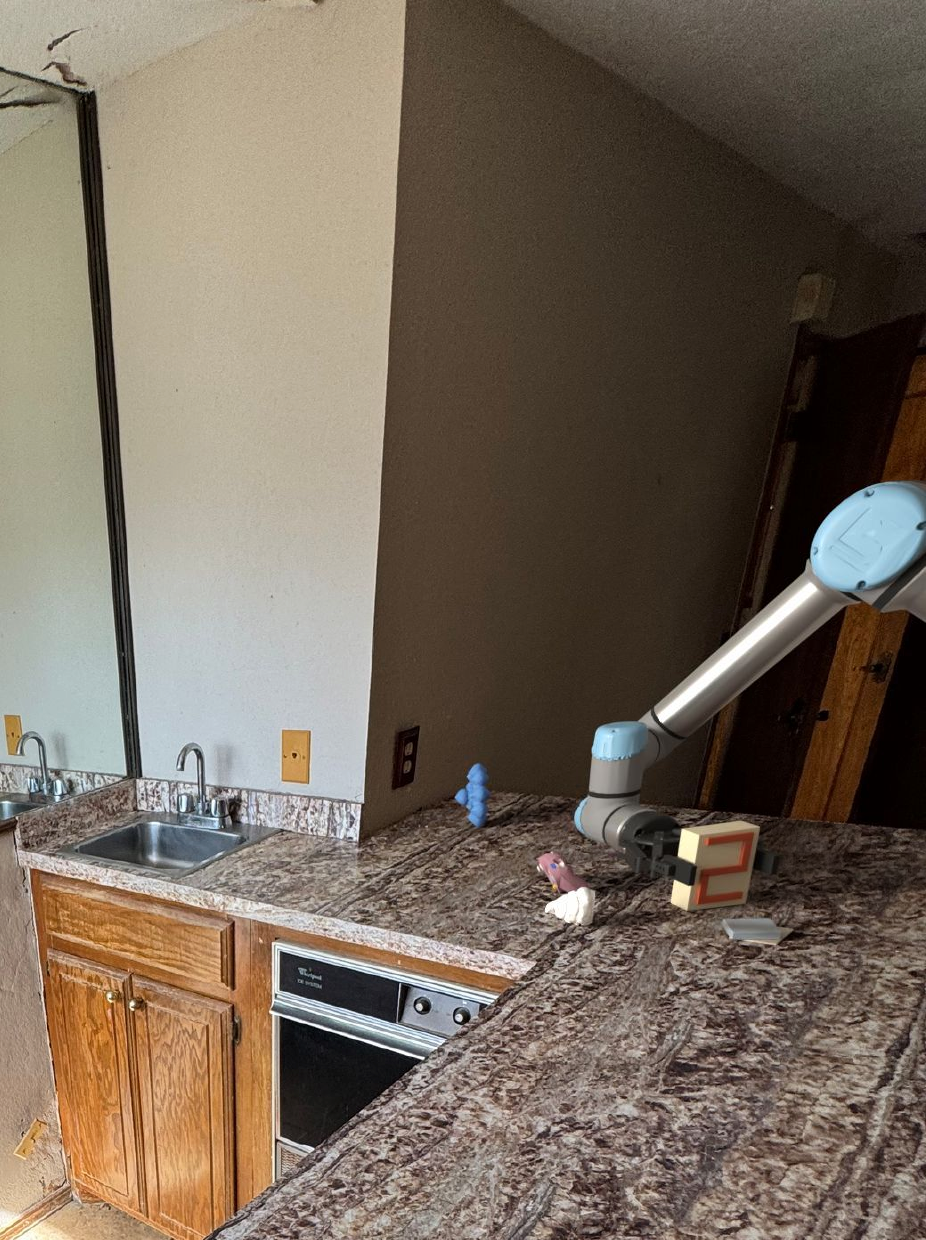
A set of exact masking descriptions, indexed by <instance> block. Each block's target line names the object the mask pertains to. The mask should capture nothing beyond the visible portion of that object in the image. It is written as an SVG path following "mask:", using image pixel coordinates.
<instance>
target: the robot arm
mask: <svg viewBox="0 0 926 1240" xmlns="http://www.w3.org/2000/svg"><path fill="white" fill-rule="evenodd" d="M805 564H806V565H805V570H804V571H803V572H802V574H800V575H799V576H798V577H797V578H796V579H795V580H794V581H793V582H791V583H790V584H789V585H788V586H787V587H786V588H785V589H784V590H782V591H781V592H780V593H779V594H778V595H776V597H775V598H773V599H772V600H771V601H770V602H769V603H768V604H767V605H766V606H765V607H764V608H763V609H761V610H760V611H759V612H758V613H757V614H756V615H754V617H753V618H751V619H750V620H748V622H747V623H746V624H745V625H744V626H742V627H741V628H740V629H739V630H738V631H737V632H736V633H734V635H732V636H731V637H730V638H729V639H728V640H727V641H726V642H724V644H722V645H721V646H720V647H719V648H718V649H717V650H716V651H715V652H713V653H712V654H711V655H710V656H709V657H708V658H707V659H706V660H704V661H703V662H702V663H701V664H699V666H698V667H697V668H696V669H695V670H694V671H692V672H691V673H690V674H689V675H688V676H687V677H686V678H684V679H683V680H682V681H681V682H680V683H679V684H678V685H677V686H676V687H674V688H673V689H672V690H671V691H670V692H669V693H668V694H667V695H665V696H664V697H663V698H662V699H661V700H660V701H659V702H658V703H656V704H655V705H654V707H652V708H651V709H650V710H648V711H647V712H646V713H645V714H644V715H643V716H642V717H641V718H639V720H637V721H633V720H632V721H630V720H629V721H616V722H611V723H606V724H603V725H600V726H599V727H597V729H596V730H595V733H594V739H593V745H592V747H591V762H590V772H589V773H590V774H589V785H588V794H587V796H586V797H585V798H584V799H583V800H582V801H581V802H580V803H579V805H578V807H577V809H576V810H575V812H574V817H573V818H574V825H575V827H576V829H577V830H578V832H580V833H581V834H582V835H584V836H586V837H587V838H588V839H589V840H592V841H593V842H598V843H600V844H602V845H605V846H608V847H609V848H612V849H613V850H617V854H616V857H618V858H620V859H623V860H624V861H625V862H626V864H627V865H628V866H629V867H630V870H632V871H633V873H634V874H638V875H641V874H644V873H645V871H649V873H648V877H649V878H650V879H658V878H659V877H660V874H661V875H662V876H666V877H668V878H669V879H672V880H673V881H674V880H676V881H678V882H681V883H683V884H685V885H687V886H694V883H695V877H696V871H697V866H695V865H693V864H690V863H688V862H686V861H683V860H681V859H679V858H678V851H679V845H680V838H681V832H682V829H683V828H682V827H681V826H680V824H679V821H677V820H676V819H675V818H674V817H673V816H671V815H669V814H665V813H663V812H660V811H658V810H655V809H652V808H649V807H646V806H643V805H640V796H641V792H642V784H643V783H642V782H643V778H644V777H643V776H644V771H646V770H647V769H649V768H650V767H652V766H654V765H656V764H658V763H660V762H662V761H663V760H664V759H666V758H667V757H668V756H669V755H671V754H672V752H673V750H675V748H677V747H678V746H679V745H681V744H682V743H683V742H684V741H685V740H686V739H687V738H688V737H689V736H691V735H692V734H693V733H694V732H695V731H697V730H698V729H699V728H701V727H702V726H703V725H704V724H705V723H707V721H709V720H710V719H712V717H713V716H715V715H716V714H717V713H718V712H719V711H721V710H722V709H723V708H724V707H725V706H727V705H728V704H730V702H732V701H733V700H735V698H737V696H739V695H740V694H741V693H742V692H743V691H745V690H746V689H747V688H748V687H750V686H751V685H752V684H753V683H754V682H755V681H757V680H758V679H759V678H761V677H762V676H763V675H764V674H765V673H766V672H768V671H769V670H770V669H771V668H772V667H773V666H775V665H776V664H777V663H779V662H780V661H781V660H782V659H783V658H784V657H785V656H787V655H788V654H790V653H791V652H792V651H793V650H794V649H795V648H796V647H798V646H799V645H800V644H801V643H802V642H804V641H805V640H806V639H807V638H808V637H810V636H811V635H812V634H813V633H814V632H816V631H817V630H818V629H820V627H822V626H823V625H824V624H825V623H826V622H828V621H829V620H831V618H832V617H834V616H836V614H837V613H838V612H840V611H841V610H842V609H843V608H844V607H847V606H850V605H858V604H861V603H862V602H865V603H867V604H868V605H870V607H873V608H874V609H876V610H877V611H879V612H880V613H883V614H884V613H889V612H896V611H908V612H909V613H910V614H912V615H914V616H915V617H917V618H918V619H920V620H922V621H923V622H925V623H926V481H923V480H917V479H902V480H897V481H885V482H879V483H875V484H872V485H870V486H867V487H865V488H863V489H860V490H858V491H856V492H855V493H853V494H851V495H850V496H848V497H847V498H845V499H844V500H843V501H842V502H841V503H839V504H838V505H837V506H836V507H835V508H834V509H833V510H832V511H831V512H829V514H828V515H827V516H826V517H825V519H824V520H823V521H822V523H821V524H820V526H819V527H818V529H817V530H816V533H815V534H814V537H813V540H812V542H811V547H810V557H809V558H808V559H807V560H806V563H805ZM764 845H765V839H761V838H758V841H757V846H756V852H755V857H754V862H753V867H752V870H757V871H759V872H761V873H764V874H766V875H769V876H776V875H777V873H778V868H779V865H780V864H779V863H780V859H781V854H778V853H776V852H773V851H770V850H767V849H764Z"/></svg>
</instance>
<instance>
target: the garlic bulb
mask: <svg viewBox="0 0 926 1240" xmlns="http://www.w3.org/2000/svg"><path fill="white" fill-rule="evenodd" d="M595 902H596V890H593V889H591V888H590V889H588V888H587V887H581V888H579V889H578V891H571V892H569V893H568V892H567V893H564V894H563V895H561V896H560V897H558V898H557V899H556V900H552V901H549V902H548V903H547V904H546V906H545V909H544V910H545V913H546V914H548V913H549V914H552V915H555V917H556V918H558V919H560V920H561V919H562V920H564V922H566V923H568V924H574V925H576V926H578V927H579V926H580V925H581V926H584V927H586V926H589V925H591V924H592V923H593V920H594V913H595Z"/></svg>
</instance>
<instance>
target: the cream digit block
mask: <svg viewBox="0 0 926 1240" xmlns="http://www.w3.org/2000/svg"><path fill="white" fill-rule="evenodd" d="M681 829H682V832H681V838H680V845H679V851H678V856H677V858H679V859H681V860H683V861H686V862H688V863H690V864H693V865H695V866H697V871H696V877H695V883H694V886H687V885H685V884H683V883H681V882H678V881H676V880H674V879H673V886H672V892H671V897H670V904H672V905H674V906H675V907H678V908H680V909H682V910H684V911H686V912H690V911H691V912H692V911H699V910H707V909H715V908H721V907H731V906H735V905H736V906H738V905H744V904H746V903H747V898H748V894H749V893H748V892H749V888H750V883H751V878H752V872H753V868H752V867H753V862H754V857H755V852H756V846H757V841H758V839H759V835H760V830H761V826H759V825H756V824H753V823H749V822H747V821H743V820H736V821H728V822H722V823H715V824H714V823H713V824H707V825H700V826H693V827H692V826H691V827H685V828H681Z"/></svg>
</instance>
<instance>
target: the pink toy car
mask: <svg viewBox="0 0 926 1240" xmlns="http://www.w3.org/2000/svg"><path fill="white" fill-rule="evenodd" d="M537 860H538V864H539V865H537V866H536V869H537V871H538V872H539V873H542V872H543V873H544V874H545V875H546V877H547V878H548V880H549V882H550V883H551V885H552V888H553V890H556V891H557V892H558V893H559V894H561V893H562V892H564V891H565V892H566V893H567V894H568V893H569V892H571V891H578V889H579V888H581V887H587V888H588V889H591V887H590V885H589V883H588V882H587V881H586V880H584V879H582V878H581V877H580V876H578V875H576V874H575V871H574V869H573V867H571V866H570V865H569V864H567V861H566V857H565V856H564V855H562V854H560V853H557V852H553V851H551V852H550V853H548V852H547V853H544V854H542V855H541V856H539V857H538V858H537Z"/></svg>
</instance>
